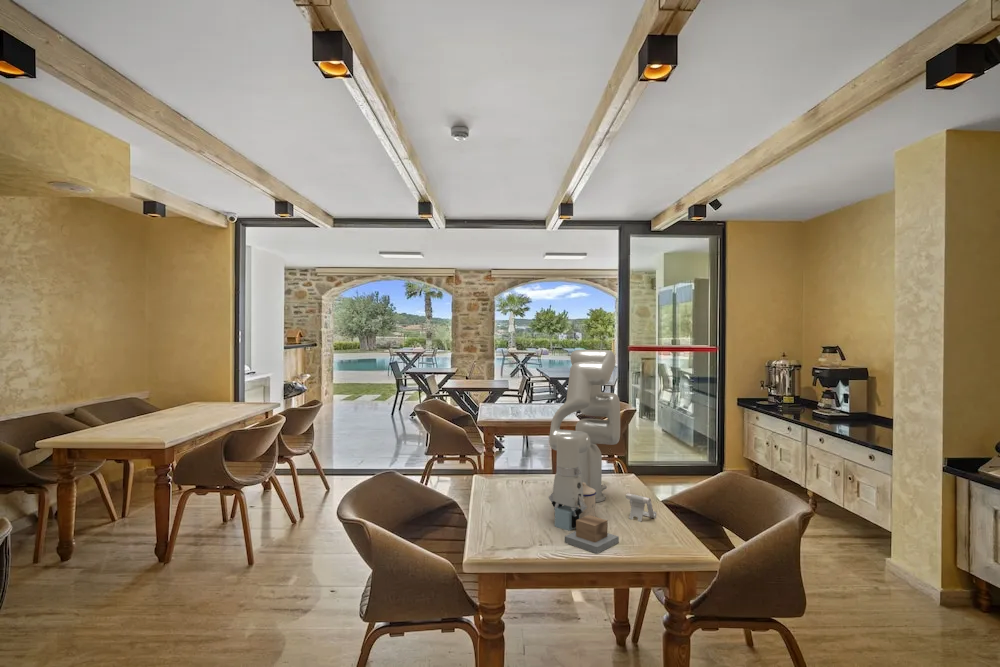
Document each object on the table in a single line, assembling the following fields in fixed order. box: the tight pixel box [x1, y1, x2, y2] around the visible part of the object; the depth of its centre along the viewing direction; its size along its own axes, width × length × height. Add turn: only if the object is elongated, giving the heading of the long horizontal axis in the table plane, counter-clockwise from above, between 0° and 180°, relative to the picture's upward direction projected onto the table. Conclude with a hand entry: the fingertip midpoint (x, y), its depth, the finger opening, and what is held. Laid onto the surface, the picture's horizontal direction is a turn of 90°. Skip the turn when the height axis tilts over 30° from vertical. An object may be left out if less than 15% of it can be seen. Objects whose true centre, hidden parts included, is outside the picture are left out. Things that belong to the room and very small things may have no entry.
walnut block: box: [575, 515, 608, 542], centre depth 164 cm, size 7×7×5 cm
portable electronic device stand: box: [625, 492, 658, 523], centre depth 188 cm, size 9×8×8 cm
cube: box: [554, 505, 580, 532], centre depth 178 cm, size 6×6×6 cm
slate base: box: [564, 530, 620, 555], centre depth 164 cm, size 12×12×2 cm
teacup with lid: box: [579, 482, 596, 518], centre depth 188 cm, size 12×9×12 cm
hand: (567, 523), depth 178 cm, fingers closed on cube, 6 cm apart
